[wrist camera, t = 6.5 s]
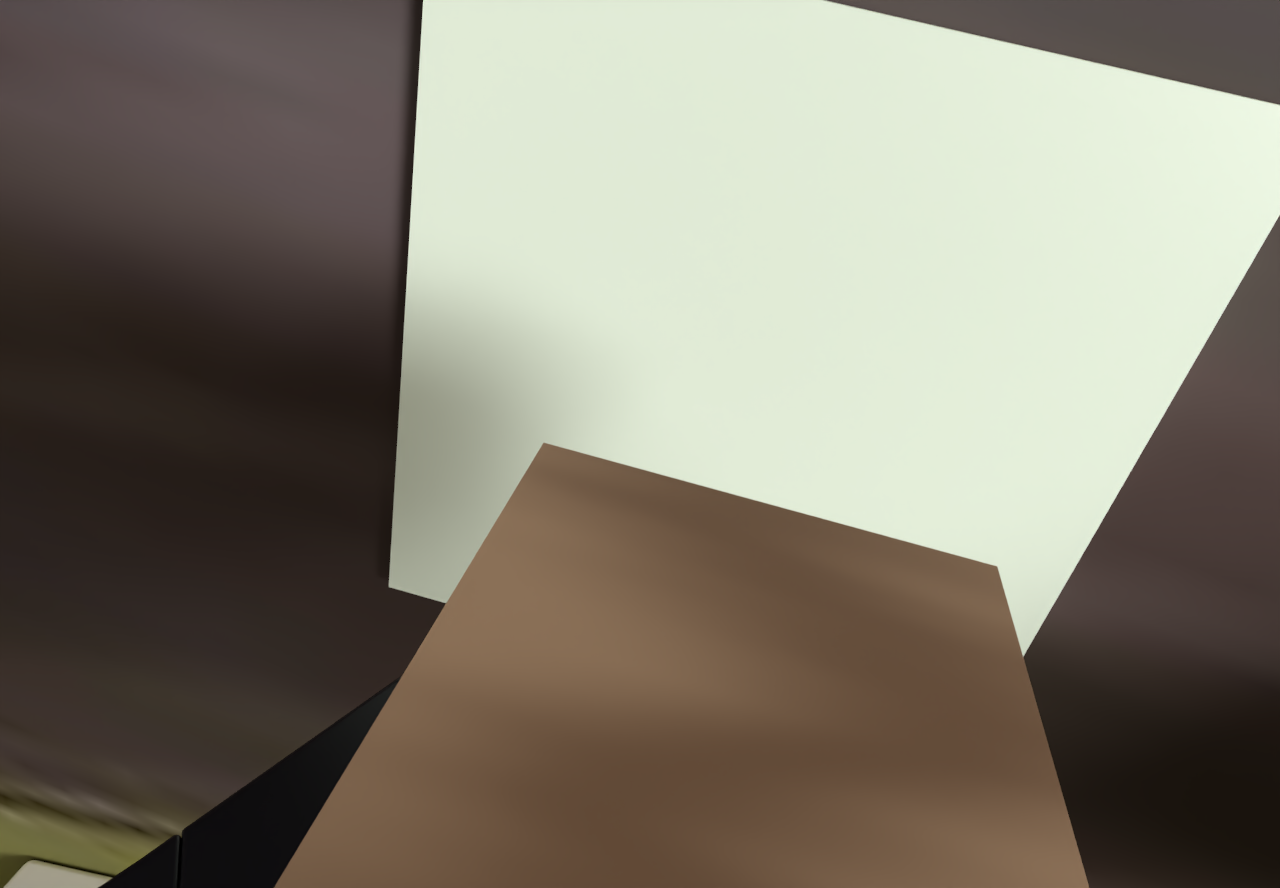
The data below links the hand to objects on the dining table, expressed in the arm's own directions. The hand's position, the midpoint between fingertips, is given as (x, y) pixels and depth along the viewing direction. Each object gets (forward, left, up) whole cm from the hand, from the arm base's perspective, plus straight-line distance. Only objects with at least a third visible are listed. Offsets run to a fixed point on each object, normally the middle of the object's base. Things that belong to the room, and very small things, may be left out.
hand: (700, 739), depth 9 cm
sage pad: (0, 0, -9) cm, 9 cm away
